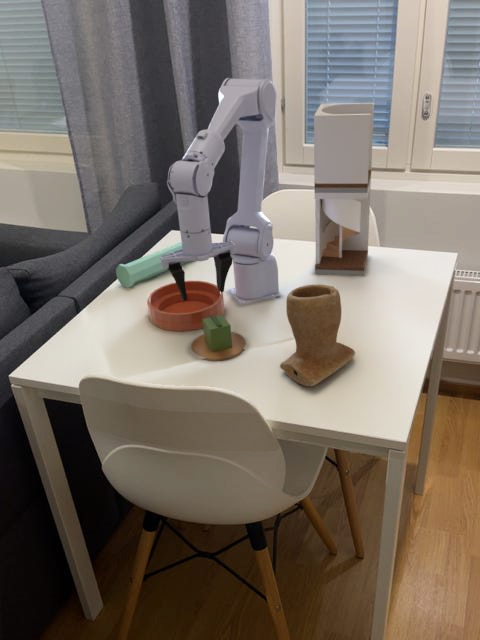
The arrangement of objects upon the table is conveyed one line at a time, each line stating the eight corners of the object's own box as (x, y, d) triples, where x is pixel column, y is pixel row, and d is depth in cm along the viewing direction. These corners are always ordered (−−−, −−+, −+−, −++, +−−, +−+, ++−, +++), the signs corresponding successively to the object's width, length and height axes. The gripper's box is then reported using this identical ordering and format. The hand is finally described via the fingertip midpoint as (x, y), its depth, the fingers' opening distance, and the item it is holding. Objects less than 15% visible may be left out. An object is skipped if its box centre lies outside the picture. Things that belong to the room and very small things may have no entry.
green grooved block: (224, 336, 141) (222, 312, 138) (232, 347, 137) (230, 323, 134) (204, 341, 140) (202, 317, 137) (212, 352, 136) (209, 327, 133)
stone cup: (313, 340, 139) (313, 270, 130) (363, 359, 132) (366, 286, 123) (263, 373, 130) (259, 300, 121) (313, 394, 123) (313, 319, 114)
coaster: (235, 329, 145) (235, 326, 144) (254, 353, 136) (253, 350, 136) (185, 340, 142) (184, 338, 142) (200, 366, 134) (200, 363, 133)
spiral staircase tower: (315, 274, 164) (314, 115, 143) (321, 256, 172) (321, 103, 151) (363, 275, 161) (370, 114, 141) (367, 257, 170) (374, 102, 149)
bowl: (211, 293, 159) (209, 275, 157) (234, 323, 147) (233, 304, 144) (142, 308, 156) (139, 289, 153) (160, 340, 143) (157, 320, 140)
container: (195, 228, 176) (116, 259, 162) (211, 242, 174) (132, 274, 160) (191, 247, 181) (114, 279, 167) (206, 260, 179) (130, 293, 165)
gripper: (163, 242, 125) (172, 310, 133) (238, 227, 128) (243, 294, 136) (153, 229, 130) (163, 295, 138) (226, 215, 134) (231, 280, 142)
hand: (202, 294), depth 138 cm, fingers open, 7 cm apart
